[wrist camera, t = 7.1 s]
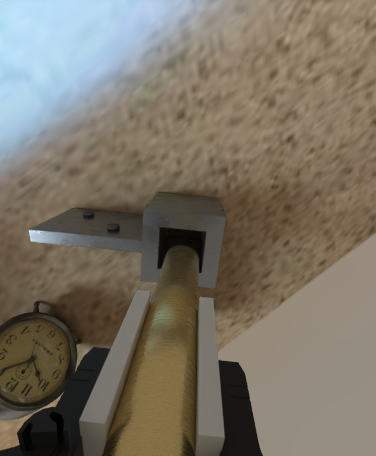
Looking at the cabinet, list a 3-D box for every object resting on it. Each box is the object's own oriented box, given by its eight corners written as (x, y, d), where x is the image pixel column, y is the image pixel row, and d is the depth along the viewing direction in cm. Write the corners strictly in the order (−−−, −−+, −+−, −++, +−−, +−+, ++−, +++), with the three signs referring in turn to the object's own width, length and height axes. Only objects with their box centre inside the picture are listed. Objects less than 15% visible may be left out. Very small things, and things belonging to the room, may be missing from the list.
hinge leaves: (80, 305, 34) (46, 351, 26) (71, 183, 28) (24, 197, 20) (202, 318, 34) (203, 368, 26) (218, 197, 28) (226, 216, 20)
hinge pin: (164, 273, 20) (74, 588, 6) (165, 243, 19) (64, 530, 5) (196, 277, 20) (188, 603, 6) (200, 246, 19) (200, 548, 5)
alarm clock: (94, 340, 36) (16, 485, 20) (70, 356, 37) (-21, 503, 22) (40, 290, 33) (-96, 414, 18) (16, 309, 34) (-130, 438, 19)
